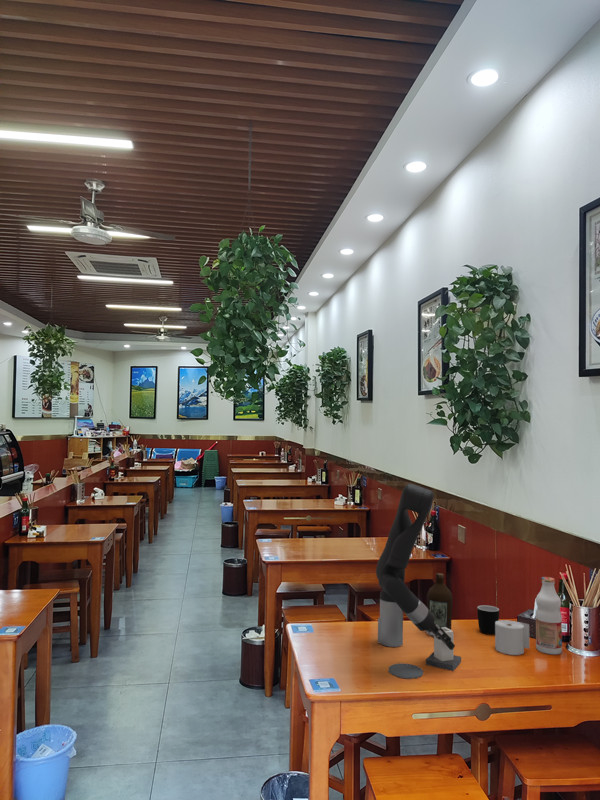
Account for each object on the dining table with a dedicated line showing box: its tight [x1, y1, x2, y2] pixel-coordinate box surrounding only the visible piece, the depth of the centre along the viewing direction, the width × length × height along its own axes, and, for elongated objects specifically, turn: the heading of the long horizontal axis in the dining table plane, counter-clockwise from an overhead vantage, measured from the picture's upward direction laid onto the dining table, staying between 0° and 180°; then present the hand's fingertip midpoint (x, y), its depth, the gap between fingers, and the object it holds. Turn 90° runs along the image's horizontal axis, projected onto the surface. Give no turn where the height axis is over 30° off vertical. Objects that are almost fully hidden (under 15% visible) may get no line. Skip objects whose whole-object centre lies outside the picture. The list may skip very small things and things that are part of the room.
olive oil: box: [426, 572, 454, 637], centre depth 240 cm, size 11×11×25 cm
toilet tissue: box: [494, 619, 530, 656], centre depth 223 cm, size 11×12×10 cm
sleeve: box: [433, 627, 455, 661], centre depth 207 cm, size 5×5×10 cm
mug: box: [476, 604, 500, 636], centre depth 245 cm, size 12×9×10 cm
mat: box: [388, 662, 424, 680], centre depth 198 cm, size 12×12×1 cm
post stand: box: [425, 651, 462, 672], centre depth 207 cm, size 10×10×10 cm
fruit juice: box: [535, 576, 563, 655], centre depth 223 cm, size 9×9×28 cm
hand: (446, 643), depth 207 cm, fingers open, 8 cm apart
